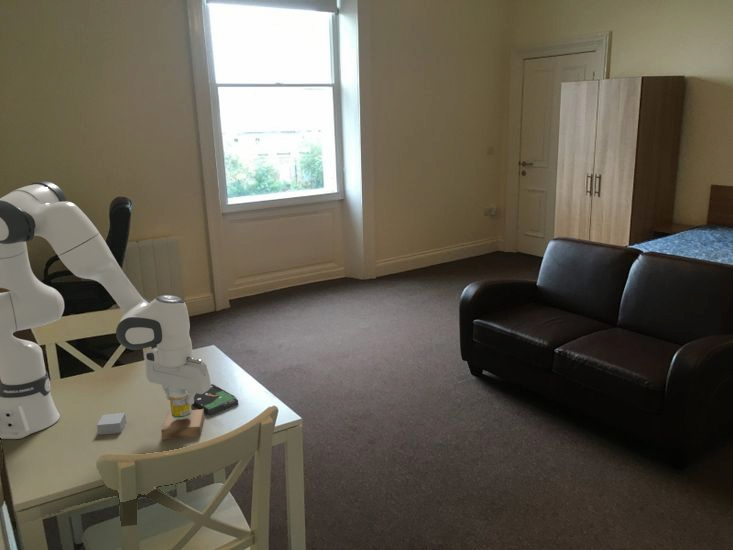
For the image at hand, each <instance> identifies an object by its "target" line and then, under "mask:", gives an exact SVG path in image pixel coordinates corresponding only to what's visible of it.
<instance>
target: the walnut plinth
mask: <svg viewBox="0 0 733 550" xmlns="http://www.w3.org/2000/svg"><path fill="white" fill-rule="evenodd" d="M191 410H192V414H191V416H190V417H188V418H186V419H182V420H177V419H174V418H173V417H172V414H171V411H168V412H167V413H166V415H165V419H164V422H163V423H162V424H163V425H162V427H161V439H162V441H163V440H165V441H166V440H175V439H184V438H187V437H188V438H196V437H197V438H198V437H201V436H202V433H203V432H202V431H203V427H204V424H205V423H204V422H205V414H204V409H200V410H198V409H191ZM201 432H202V433H201Z"/></svg>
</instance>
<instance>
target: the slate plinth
mask: <svg viewBox="0 0 733 550" xmlns="http://www.w3.org/2000/svg"><path fill="white" fill-rule="evenodd" d="M126 424H127V417H126V412H120V413H118V412H117V413H108V414H102V415H101V418H100V419H99V421H98V422H97V424H96V427H97V433H98V436H101V435H103V436H104V435H111V434H113V435H114V434H122V432H123V430H124V428H125V426H126Z"/></svg>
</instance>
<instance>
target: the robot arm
mask: <svg viewBox="0 0 733 550" xmlns="http://www.w3.org/2000/svg"><path fill="white" fill-rule="evenodd" d="M35 236H36V237H37V236H38V237H41V238H43V239H45V240H46V241H47V242H48V243H49V245H50V246H51V248H52V249H53V250H54V252H55V254H56V255H57V257H58V258H59V260H60V261H61V262H62V264H63V265H64V266H65V267H66V268H67V270H69V271H70V272H71V273H72V274H73V275H74V276H76V277H77V278H80V279H84V280H85V279H86V280H87V279H89V280H93V281H95V282H98V283H99V284H101V286H103V287H104V289H105V290H106V291H107V292H108V293H109V295H110V296H111V297H112V299H113V300H114V301H115V303H116V304H117V305H118V307H119V308H120V311H121V316H122V317H121V318H120V321H119V322H118V325H117V327H116V328H115V329H116V330H115V335H116V339H117V341H118V342H119V344H120V345H121V346H123V347H124V348H125V349H128V350H133V351H136V350H137V351H138V350H139V351H140V350H143V349H148V348H151V347H153V348H151V349H149V350H147V351H145V352H144V353H143V357H144V360H145V362H144V363H145V365H144V366H145V376H146V379H147V380H148V382H149V383H152V384H157V385H160V386H161V387H162V390H163V391H164V393H165V395H166V400H168V401H170V395H169V394H170V392H171V390H172V389H171V387H172V386H175V387H176V388H177V389H181V390H185V391H187V394H189V396H188V398H186V399H185V401H186V404H187V405H191V406H192V404H194V396H195V394H196V393H198V394H203V393H205V392H207V391H208V390H209V389H210V388H211V377H210V374H209V370H208V367H207V364H206V363H205V362H204V361H203V360H202V359H201V358H200V359H199V358H195V357H194V352H193V345H192V339H191V337H190V329H191V326H190V325H191V323H190V317H189V316H190V315H189V312H188V306H187V304H186V302H185V300H184V299H183V298H181V297H179V296H176V295H170V294H163V295H158V296H156V297H155V298H154V299H153V300H150V299H148V298H146V297H145V296H144V295H143V294H141V292H140V291H139V290H138V289H137V287H136V286H135V284H134V283H133V281H132V280H131V279H130V278H129V276H128V275H127V274H126V272H125V271H124V269H122V267H121V265H119V263H118V262H117V259H116V258H115V256H114V255H113V253H112V251H111V250H110V247H109V246H108V244H107V242H106V240H105V239H104V238H103V235H101V233H100V232H99V230H98V228H97V227H96V226H95V224H94V223H93V222H92V221H91V220H90V218H89V217H88V216H87V215H86V213H85V212H83V210H81V208H80V207H78V205H77V204H76V203H74V202H71V201H68V200H67V196H66V194H65V193H64V191H63V190H62V189H61V188H60V187H59V186H58V185H56V184H55V183H53V182H51V181H36V182H32V183H30V184H29V185H26V186H22V187H19V188H17V189H14V190H12V191H10V192H9V193H8V194H6V195H4V196H2V197H1V198H0V289H5V290H8V291H5V292H0V437H1V439H0V440H5V439H6V440H18V439H20V440H21V439H24V438H25V437H26V438H27V436H29V435H31V434H34V433H37V432H40V431H42V430H45V429H47V428H49V427H51V426H53V425H55V423H56V422H58V420H59V419H60V416H61V415H60V412H59V411H58V410H57V407H56V404H55V403H54V399H53V397H52V393H51V382H50V378H49V373H48V371H47V370H46V366H45V361H44V354H43V349H42V348H41V346H40V345H39V344H37V343H36V342H33V341H30V340H27V339H21V338H18V337H16V336H14V333H15V332H18V331H23V330H29V329H33V328H38V327H43V326H45V325H48V324H51V323H55V322H56V321H59V320H60V319H61V318H62V316H63V314H64V311H65V300H64V297H63V296H62V294H61V293H60V292H59V291H58V290H57V289H56V288H54V287H52V286H49V285H47V284H45V283H44V282H42V281H40V280H39V279H38V278H37V276H36V275H35V274H34V273H33V270H32V267H31V263H30V259H29V253H28V252H29V251H28V246H27V245H28V244H27V242H31V241H33V239H34V238H35ZM155 346H156V347H155Z"/></svg>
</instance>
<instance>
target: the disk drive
mask: <svg viewBox="0 0 733 550" xmlns="http://www.w3.org/2000/svg"><path fill="white" fill-rule="evenodd" d="M238 405H239V399H237V397H236V396H235V395H234V394H232V393H229V392H228V391H226V390H224V389H222V388H220V387H219V386H217V385H216V384H214V383H212V384H211V388H210V389H209V390H208V391H207V392H205V393H203V394H198V393H196V394H195V396H194V404H192V405H191V407H194V408H195V409H196V410H200V409H204V415H206V416H207V417H211V416H213V415H216V414H218V413H221V412H223V411H226V410H229V409H231V408H233V407H236V406H238Z"/></svg>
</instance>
